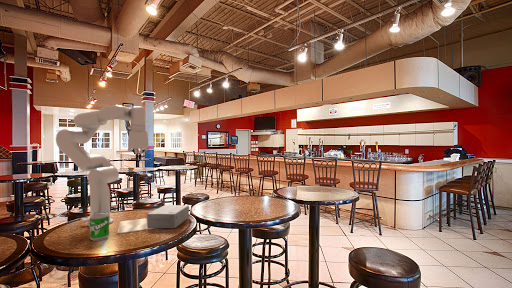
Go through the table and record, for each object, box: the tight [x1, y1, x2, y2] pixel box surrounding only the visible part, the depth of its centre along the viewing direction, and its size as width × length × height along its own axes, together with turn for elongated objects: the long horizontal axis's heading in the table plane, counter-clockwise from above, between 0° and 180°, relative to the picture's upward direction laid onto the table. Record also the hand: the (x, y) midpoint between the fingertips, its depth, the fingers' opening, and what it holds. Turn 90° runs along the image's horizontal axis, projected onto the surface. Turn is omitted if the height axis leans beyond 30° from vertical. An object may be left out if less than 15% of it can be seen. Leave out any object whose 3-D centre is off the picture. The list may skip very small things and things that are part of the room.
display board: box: [116, 217, 157, 235], centre depth 138 cm, size 28×22×1 cm
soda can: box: [89, 212, 110, 242], centre depth 116 cm, size 8×8×12 cm
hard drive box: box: [146, 204, 190, 229], centre depth 138 cm, size 16×8×20 cm
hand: (138, 161), depth 138 cm, fingers closed
